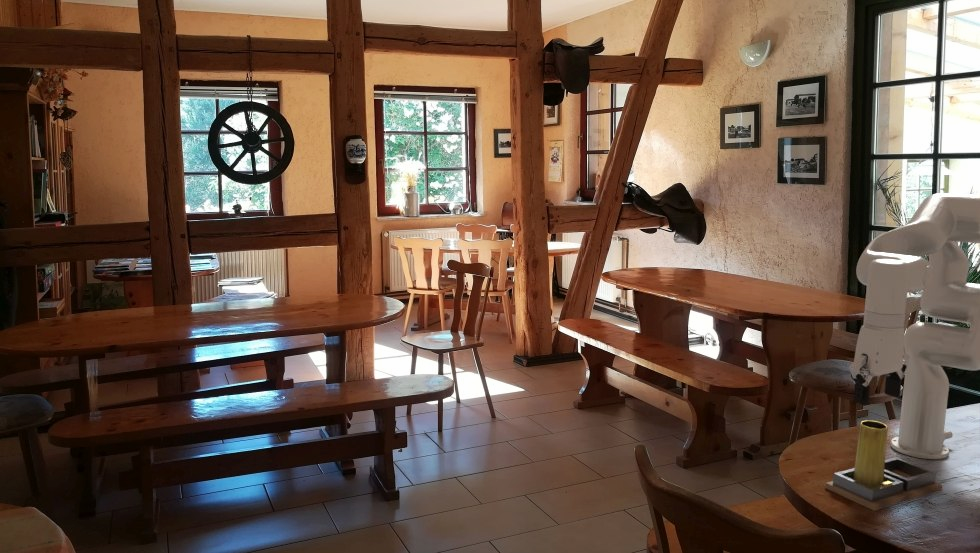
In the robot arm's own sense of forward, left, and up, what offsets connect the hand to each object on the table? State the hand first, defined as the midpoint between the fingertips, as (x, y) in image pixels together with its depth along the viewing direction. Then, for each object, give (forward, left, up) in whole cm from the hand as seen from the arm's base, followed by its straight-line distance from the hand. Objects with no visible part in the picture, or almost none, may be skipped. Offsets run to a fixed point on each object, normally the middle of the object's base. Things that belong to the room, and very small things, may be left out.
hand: (876, 399), depth 169 cm
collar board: (-5, 0, -21) cm, 22 cm away
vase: (0, 0, -20) cm, 20 cm away
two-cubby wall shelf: (-5, 0, -20) cm, 20 cm away
